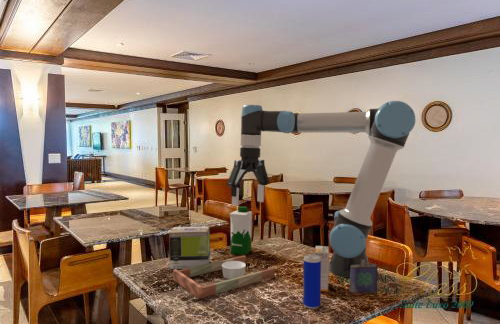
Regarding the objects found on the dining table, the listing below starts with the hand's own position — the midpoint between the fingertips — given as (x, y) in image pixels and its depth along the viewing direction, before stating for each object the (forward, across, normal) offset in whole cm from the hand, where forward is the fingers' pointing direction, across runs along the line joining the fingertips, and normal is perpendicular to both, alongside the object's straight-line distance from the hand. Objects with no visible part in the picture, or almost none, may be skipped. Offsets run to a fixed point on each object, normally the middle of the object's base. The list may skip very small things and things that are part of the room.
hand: (248, 203), depth 136 cm
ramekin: (+27, +6, 0) cm, 27 cm away
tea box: (+27, +10, -21) cm, 36 cm away
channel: (+26, +10, 0) cm, 28 cm away
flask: (+25, -14, +41) cm, 50 cm away
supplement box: (+25, -8, +29) cm, 39 cm away
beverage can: (+25, +6, +34) cm, 43 cm away
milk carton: (+27, -16, -18) cm, 36 cm away
